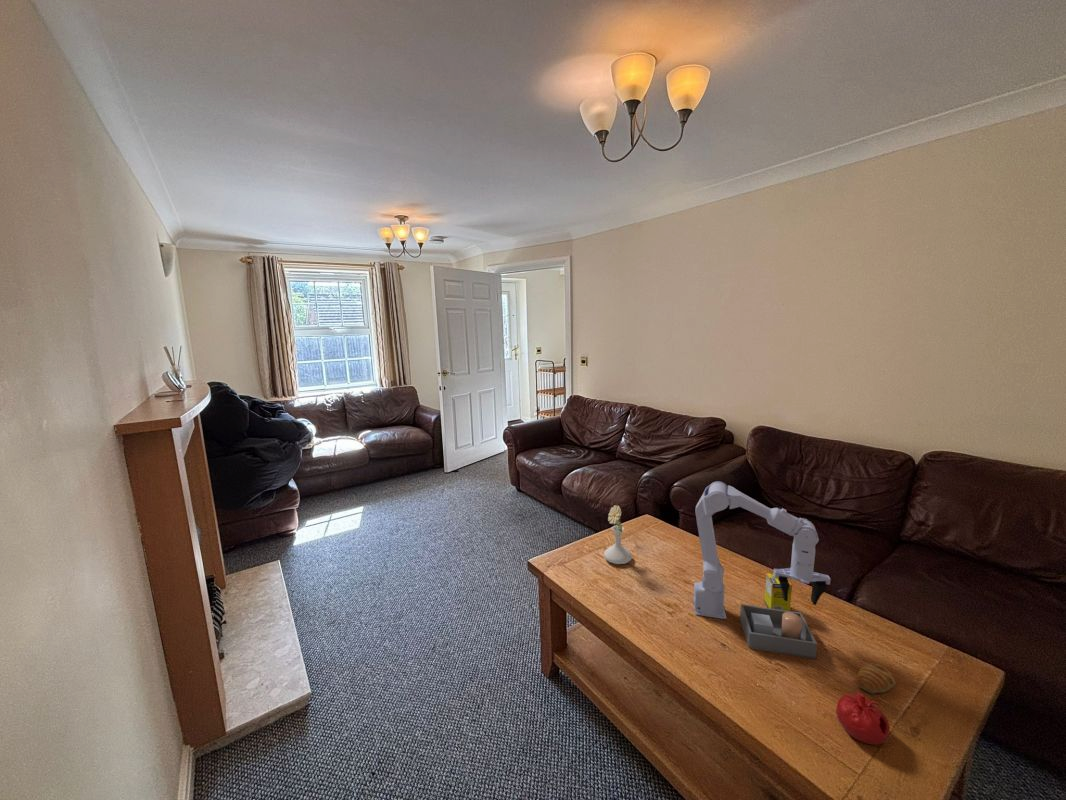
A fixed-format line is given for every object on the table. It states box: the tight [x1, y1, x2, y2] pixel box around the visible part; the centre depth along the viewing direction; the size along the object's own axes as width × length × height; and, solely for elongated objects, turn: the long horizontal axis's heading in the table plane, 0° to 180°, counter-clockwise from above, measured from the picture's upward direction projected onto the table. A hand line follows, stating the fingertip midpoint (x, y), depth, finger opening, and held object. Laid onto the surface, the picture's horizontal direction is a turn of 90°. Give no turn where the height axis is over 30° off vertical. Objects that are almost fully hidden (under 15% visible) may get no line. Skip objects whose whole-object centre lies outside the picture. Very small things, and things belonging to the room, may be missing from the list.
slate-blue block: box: [750, 613, 773, 635], centre depth 126 cm, size 5×5×5 cm
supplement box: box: [763, 572, 793, 611], centre depth 137 cm, size 6×6×11 cm
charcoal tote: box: [739, 603, 818, 660], centre depth 125 cm, size 17×13×5 cm
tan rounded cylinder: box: [781, 612, 802, 640], centre depth 123 cm, size 5×5×7 cm
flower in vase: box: [603, 505, 633, 565], centre depth 167 cm, size 13×11×25 cm
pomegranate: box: [835, 690, 891, 745], centre depth 95 cm, size 10×10×9 cm
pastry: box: [856, 662, 897, 694], centre depth 108 cm, size 9×7×4 cm
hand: (799, 600), depth 126 cm, fingers open, 7 cm apart
